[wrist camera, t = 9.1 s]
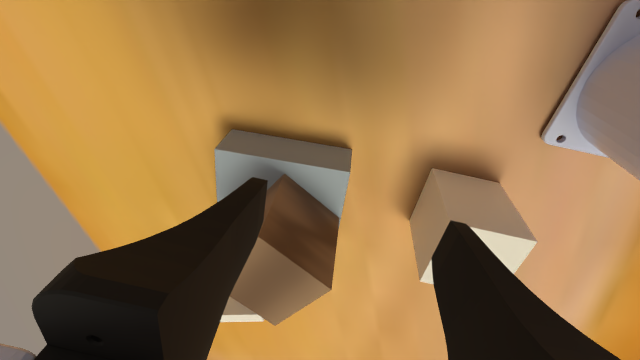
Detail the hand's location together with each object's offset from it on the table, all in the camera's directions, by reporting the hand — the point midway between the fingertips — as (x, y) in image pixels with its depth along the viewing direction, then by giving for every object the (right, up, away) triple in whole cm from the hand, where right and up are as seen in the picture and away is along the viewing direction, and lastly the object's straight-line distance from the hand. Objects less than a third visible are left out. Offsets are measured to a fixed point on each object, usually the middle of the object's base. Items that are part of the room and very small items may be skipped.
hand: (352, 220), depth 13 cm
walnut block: (-3, -1, +10) cm, 10 cm away
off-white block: (+8, 0, +11) cm, 14 cm away
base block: (-4, +1, +13) cm, 13 cm away
